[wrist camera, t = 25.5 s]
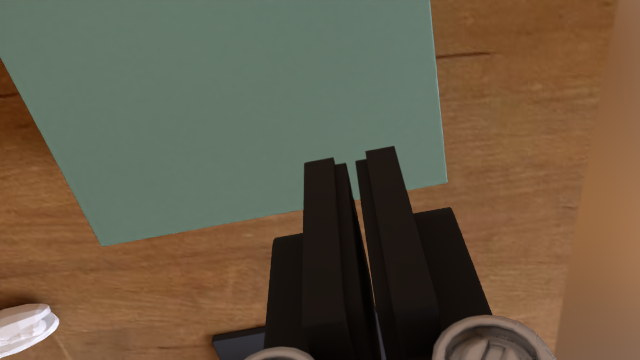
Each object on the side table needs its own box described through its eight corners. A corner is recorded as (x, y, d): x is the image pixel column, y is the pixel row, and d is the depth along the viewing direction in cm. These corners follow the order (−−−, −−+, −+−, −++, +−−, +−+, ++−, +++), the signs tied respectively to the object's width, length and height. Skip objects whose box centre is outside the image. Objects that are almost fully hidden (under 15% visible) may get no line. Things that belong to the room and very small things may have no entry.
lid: (416, -104, 19) (420, -102, 18) (444, 174, 25) (448, 183, 24) (-20, -4, 20) (-31, 1, 20) (106, 236, 26) (101, 247, 26)
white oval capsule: (-51, 318, 38) (-75, 350, 36) (48, 287, 37) (31, 317, 35) (-22, 347, 40) (-43, 379, 37) (74, 318, 38) (59, 349, 36)
